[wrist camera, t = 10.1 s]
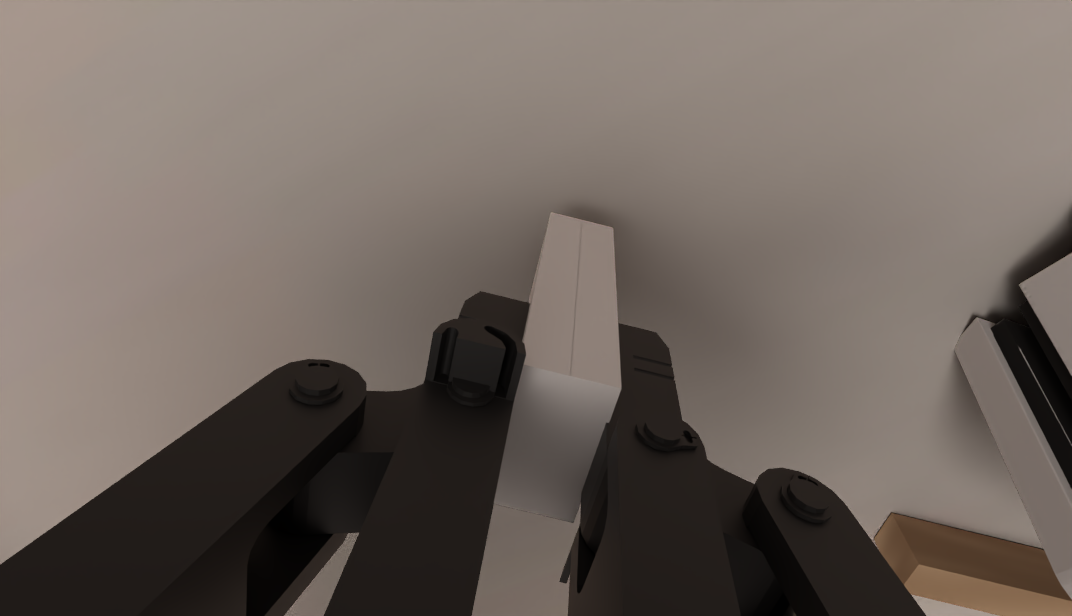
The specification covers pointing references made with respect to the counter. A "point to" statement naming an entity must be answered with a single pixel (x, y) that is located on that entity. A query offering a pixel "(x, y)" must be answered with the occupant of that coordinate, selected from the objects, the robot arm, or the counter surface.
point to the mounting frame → (971, 569)
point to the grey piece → (1032, 403)
